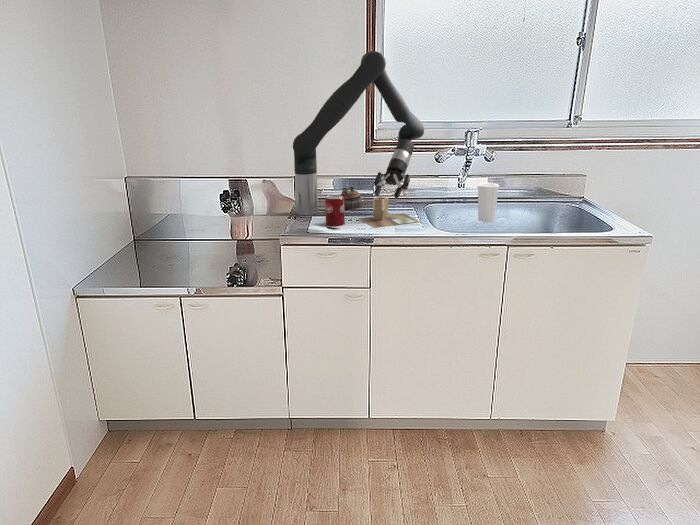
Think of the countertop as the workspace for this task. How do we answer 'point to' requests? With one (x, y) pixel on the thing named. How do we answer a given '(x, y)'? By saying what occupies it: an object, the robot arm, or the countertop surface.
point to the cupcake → (351, 198)
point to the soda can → (334, 211)
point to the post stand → (390, 220)
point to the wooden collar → (380, 208)
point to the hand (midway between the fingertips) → (386, 196)
